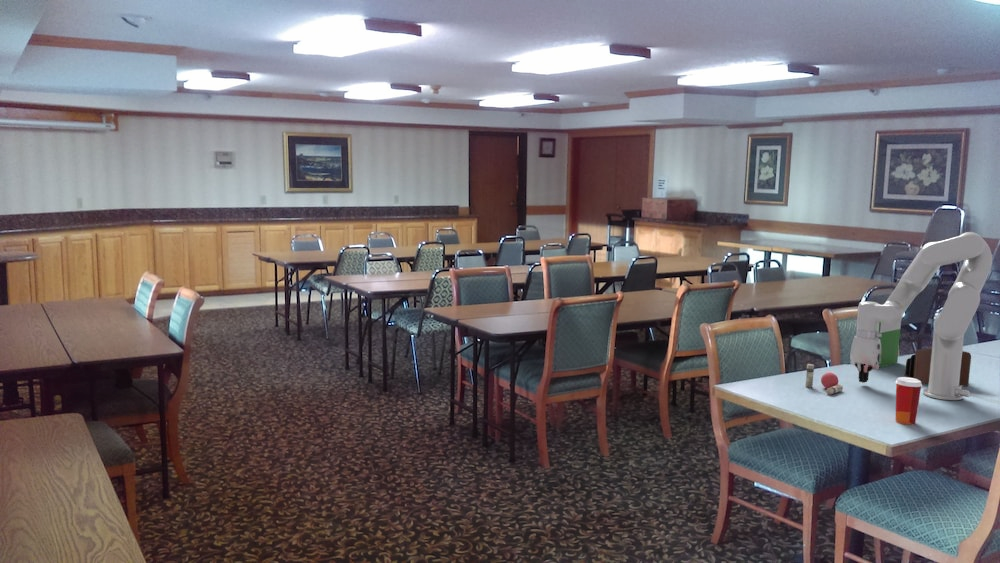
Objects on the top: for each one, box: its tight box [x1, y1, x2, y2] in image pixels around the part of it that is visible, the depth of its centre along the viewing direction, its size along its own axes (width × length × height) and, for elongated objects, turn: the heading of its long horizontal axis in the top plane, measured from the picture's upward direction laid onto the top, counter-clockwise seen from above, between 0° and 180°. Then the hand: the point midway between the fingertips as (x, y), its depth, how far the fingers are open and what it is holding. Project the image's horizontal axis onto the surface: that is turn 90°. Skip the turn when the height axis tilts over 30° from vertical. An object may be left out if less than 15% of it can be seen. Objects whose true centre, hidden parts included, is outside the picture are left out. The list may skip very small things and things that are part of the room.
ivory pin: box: [825, 384, 844, 396], centre depth 281 cm, size 2×2×8 cm
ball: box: [820, 372, 839, 389], centre depth 287 cm, size 6×6×6 cm
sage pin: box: [805, 363, 815, 389], centre depth 289 cm, size 2×2×8 cm
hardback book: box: [878, 320, 902, 368], centre depth 329 cm, size 18×7×24 cm, turn 128°
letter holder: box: [904, 348, 972, 387], centre depth 301 cm, size 10×20×14 cm, turn 80°
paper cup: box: [895, 376, 923, 426], centre depth 247 cm, size 8×8×14 cm
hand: (863, 381), depth 293 cm, fingers closed
